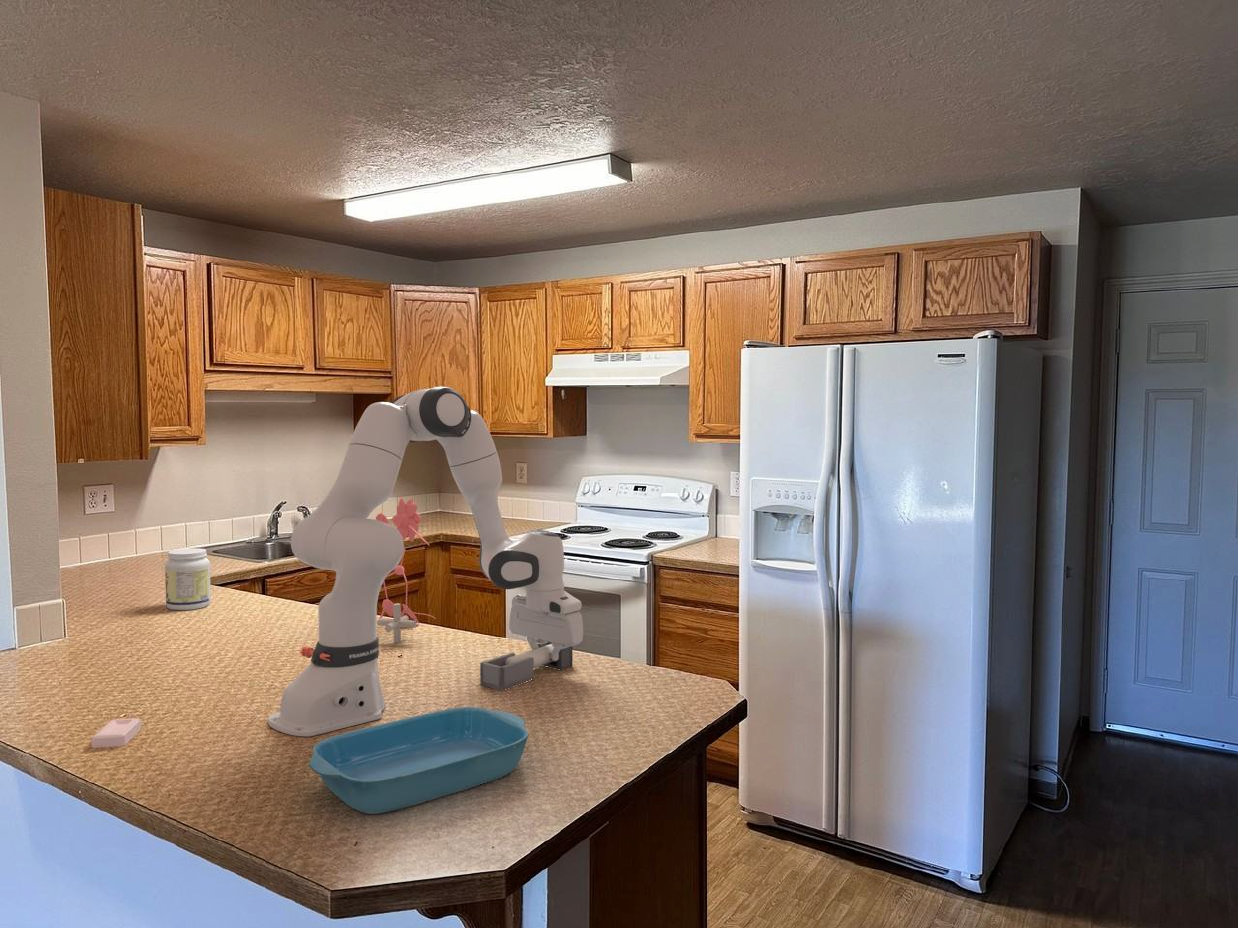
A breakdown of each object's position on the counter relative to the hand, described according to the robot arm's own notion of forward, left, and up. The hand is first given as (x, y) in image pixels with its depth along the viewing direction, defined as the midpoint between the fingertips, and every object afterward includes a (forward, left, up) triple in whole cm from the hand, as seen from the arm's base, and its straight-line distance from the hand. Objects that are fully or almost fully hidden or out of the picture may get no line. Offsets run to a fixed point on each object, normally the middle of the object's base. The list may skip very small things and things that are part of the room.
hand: (545, 658), depth 203 cm
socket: (+3, 0, -3) cm, 4 cm away
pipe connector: (-7, +45, -3) cm, 46 cm away
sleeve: (-13, 0, -3) cm, 13 cm away
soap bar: (-80, +34, -3) cm, 87 cm away
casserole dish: (-57, -24, -3) cm, 62 cm away
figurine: (+10, +61, -3) cm, 62 cm away
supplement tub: (-20, +126, -3) cm, 128 cm away
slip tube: (-4, 0, -1) cm, 4 cm away
